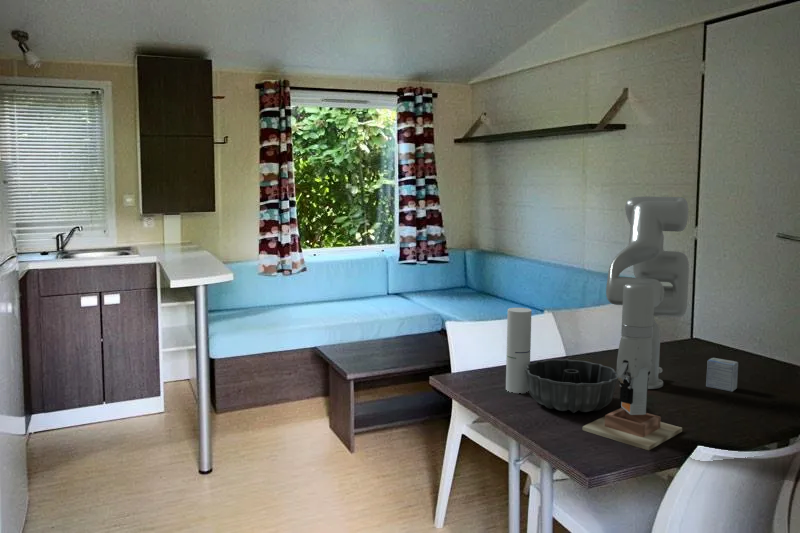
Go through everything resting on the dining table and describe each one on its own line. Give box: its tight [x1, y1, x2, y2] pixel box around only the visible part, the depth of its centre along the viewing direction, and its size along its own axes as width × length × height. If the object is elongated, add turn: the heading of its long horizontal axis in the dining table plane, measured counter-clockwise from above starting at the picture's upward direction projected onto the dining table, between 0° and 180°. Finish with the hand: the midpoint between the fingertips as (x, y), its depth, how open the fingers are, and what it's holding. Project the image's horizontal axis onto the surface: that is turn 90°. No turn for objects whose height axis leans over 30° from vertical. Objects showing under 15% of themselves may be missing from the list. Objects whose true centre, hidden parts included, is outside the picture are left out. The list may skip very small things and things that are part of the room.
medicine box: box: [705, 357, 739, 392], centre depth 211 cm, size 8×4×9 cm, turn 47°
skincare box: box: [620, 367, 648, 415], centre depth 174 cm, size 6×4×12 cm
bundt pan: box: [524, 358, 619, 414], centre depth 197 cm, size 26×26×10 cm
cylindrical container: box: [505, 307, 533, 394], centre depth 208 cm, size 7×7×25 cm
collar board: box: [582, 407, 683, 451], centre depth 176 cm, size 18×18×4 cm
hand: (633, 398), depth 175 cm, fingers closed on skincare box, 6 cm apart
